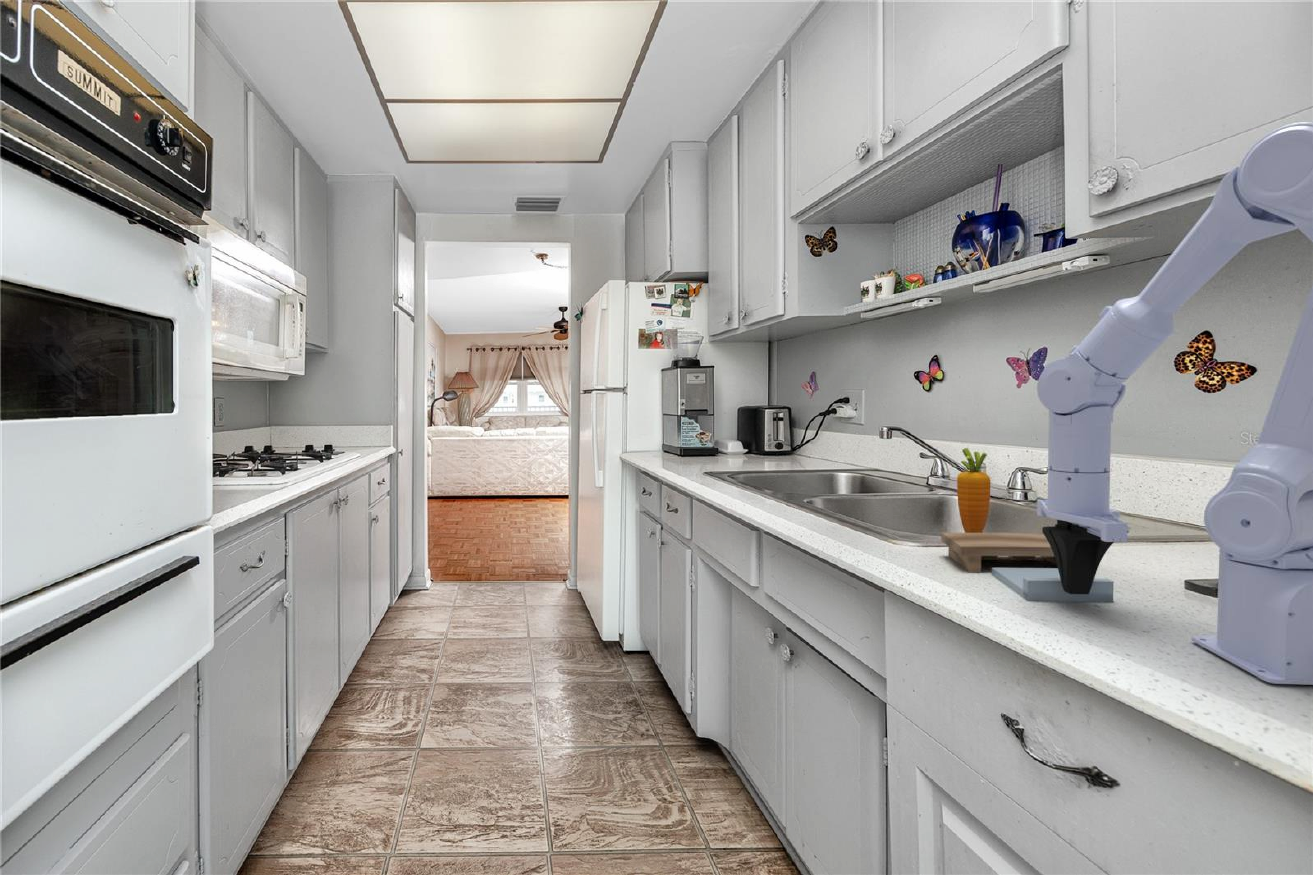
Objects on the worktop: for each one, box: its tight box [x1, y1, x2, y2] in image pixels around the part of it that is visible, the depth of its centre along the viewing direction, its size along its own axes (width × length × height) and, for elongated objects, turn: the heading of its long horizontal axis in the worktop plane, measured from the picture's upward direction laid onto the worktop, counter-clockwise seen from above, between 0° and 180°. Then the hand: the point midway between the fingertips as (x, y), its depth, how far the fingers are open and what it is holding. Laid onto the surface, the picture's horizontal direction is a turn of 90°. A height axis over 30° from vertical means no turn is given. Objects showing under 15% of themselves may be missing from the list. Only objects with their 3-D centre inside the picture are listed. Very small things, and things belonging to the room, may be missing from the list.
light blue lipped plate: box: [991, 567, 1114, 603], centre depth 80 cm, size 11×9×3 cm
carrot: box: [956, 447, 991, 533], centre depth 103 cm, size 5×5×15 cm
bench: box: [940, 532, 1058, 573], centre depth 90 cm, size 9×16×3 cm, turn 82°
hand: (1076, 592), depth 73 cm, fingers closed
